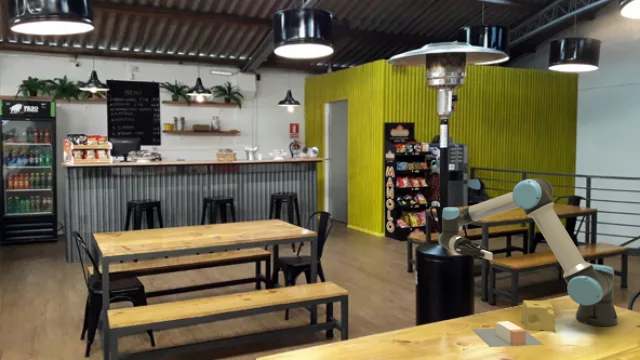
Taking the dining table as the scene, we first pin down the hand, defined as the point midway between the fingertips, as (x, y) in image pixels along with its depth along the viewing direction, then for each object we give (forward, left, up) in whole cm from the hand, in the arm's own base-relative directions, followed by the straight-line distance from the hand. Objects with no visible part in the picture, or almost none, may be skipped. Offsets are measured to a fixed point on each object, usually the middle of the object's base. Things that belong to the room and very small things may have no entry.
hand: (490, 256), depth 214 cm
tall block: (+1, +13, -25) cm, 28 cm away
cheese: (-17, +6, -28) cm, 33 cm away
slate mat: (0, +16, -28) cm, 32 cm away
